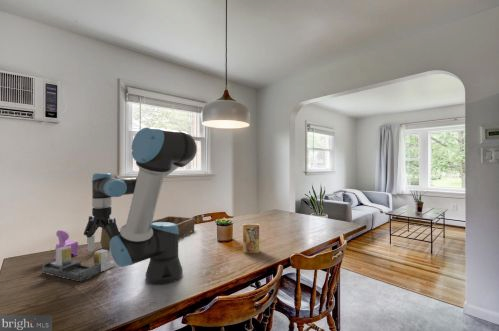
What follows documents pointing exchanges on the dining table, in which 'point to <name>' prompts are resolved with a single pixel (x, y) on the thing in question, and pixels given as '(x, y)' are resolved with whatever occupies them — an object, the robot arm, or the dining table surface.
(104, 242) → the squeeze bottle
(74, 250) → the toy chair
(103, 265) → the gold-topped white block
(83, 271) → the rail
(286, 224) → the dining table surface
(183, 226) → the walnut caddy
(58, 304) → the dining table surface
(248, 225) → the candy box
